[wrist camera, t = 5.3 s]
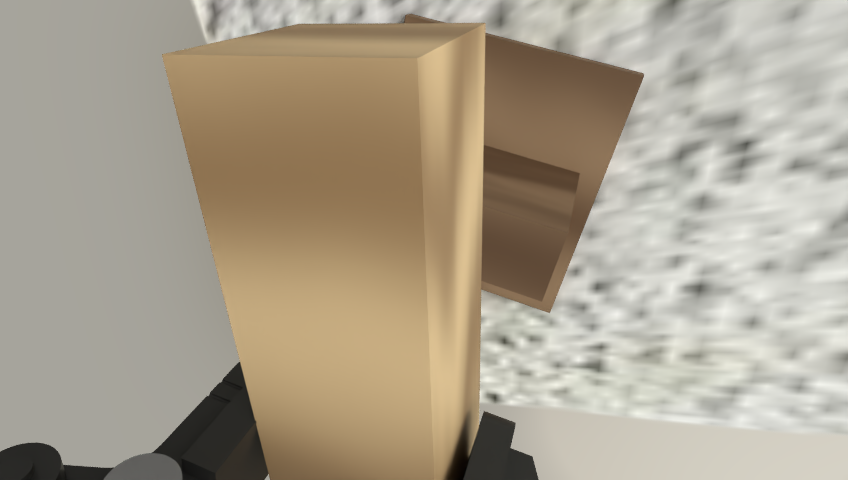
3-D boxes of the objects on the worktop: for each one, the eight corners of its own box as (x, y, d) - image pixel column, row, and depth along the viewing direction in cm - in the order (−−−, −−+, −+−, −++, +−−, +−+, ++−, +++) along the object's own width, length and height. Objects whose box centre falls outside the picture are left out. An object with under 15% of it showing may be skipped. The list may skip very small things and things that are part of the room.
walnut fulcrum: (410, 13, 23) (342, 31, 17) (643, 73, 21) (650, 114, 16) (373, 245, 29) (314, 312, 24) (551, 306, 27) (533, 395, 22)
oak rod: (298, 23, 10) (161, 54, 7) (485, 22, 9) (416, 57, 6) (371, 552, 17) (320, 674, 14) (476, 584, 16) (444, 723, 13)
